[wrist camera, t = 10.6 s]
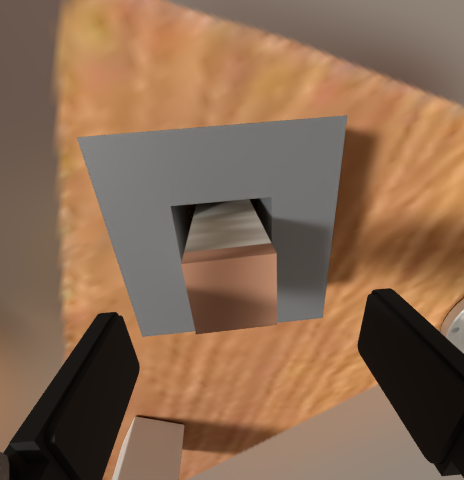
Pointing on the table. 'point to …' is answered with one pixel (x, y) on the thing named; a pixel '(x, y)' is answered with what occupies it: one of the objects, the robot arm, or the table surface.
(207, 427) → the table surface
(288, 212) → the socket block
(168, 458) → the milk carton
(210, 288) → the peg
